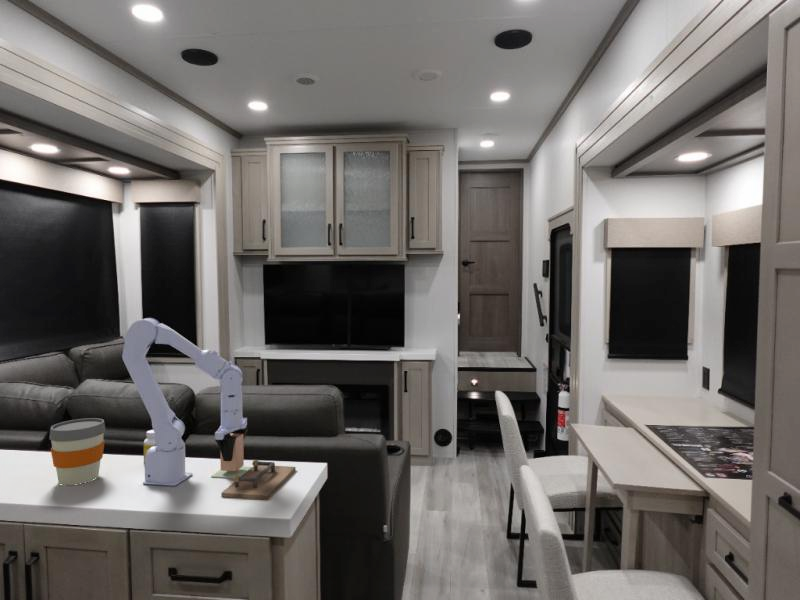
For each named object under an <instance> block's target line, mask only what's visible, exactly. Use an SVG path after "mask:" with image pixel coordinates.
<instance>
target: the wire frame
mask: <svg viewBox="0 0 800 600" xmlns="http://www.w3.org/2000/svg"><path fill="white" fill-rule="evenodd" d="M251 467H252V468H251V469H250V470H248V471H247V472H246V473H245V474H244V475H242V476H241V477H240V476H239V475H235V476H234V477H233V479H232V481H233V482H232V483H231V484H230V485H229V486H228V487H226V488H225V489H224V490H223V491H222V492H220V495H221V497H223V498H235V499H249V500H250V499H252V500H266V501H267V500H269V499H270V498H271V497H272V495H274V493H276V491H278V489H279V488H281V486H282V485H284V483H285V482H286V481H287V480H288V479H289V477H291V476H292V475H293V473H294V472H295V471H296V466H285V465H276V463H275V462H274V461H259V460H258V459H253V461H252V466H251Z"/></svg>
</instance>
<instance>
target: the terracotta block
mask: <svg viewBox="0 0 800 600" xmlns="http://www.w3.org/2000/svg"><path fill="white" fill-rule="evenodd" d="M230 435H231V436H236V437H237V438H236V440H235V443H234V448H233V457H232V461H224V460H223V457H222V453H221V450H220V449H219V450H220V470H221V471H237V470H238V469H240V468H241V467H242V466H244V463H245V462H244V454H245V453H244V441H243V434H234V433H230Z"/></svg>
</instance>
